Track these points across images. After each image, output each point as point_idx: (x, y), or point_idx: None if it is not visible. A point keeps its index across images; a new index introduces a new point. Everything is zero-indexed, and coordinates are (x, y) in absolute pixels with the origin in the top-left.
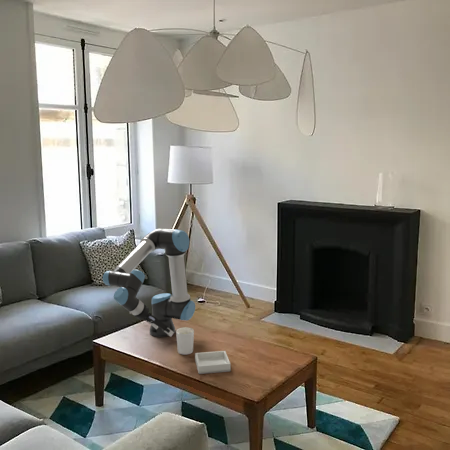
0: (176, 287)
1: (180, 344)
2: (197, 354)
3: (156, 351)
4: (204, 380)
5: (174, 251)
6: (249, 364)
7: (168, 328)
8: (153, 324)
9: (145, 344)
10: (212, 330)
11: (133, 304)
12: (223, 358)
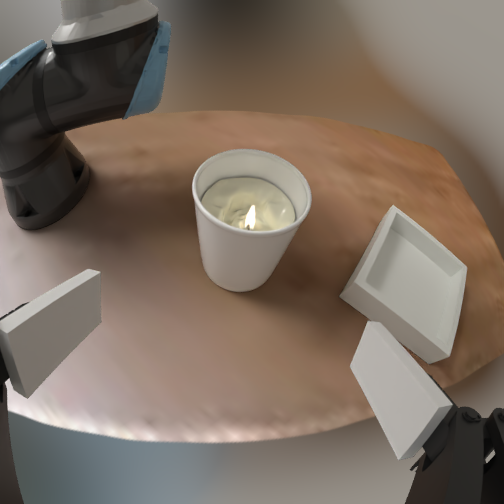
0: None
1: (255, 270)
2: (363, 281)
3: (122, 339)
4: (460, 374)
5: None
6: (435, 220)
7: (422, 377)
8: (61, 341)
9: None
10: (190, 114)
11: None
12: (394, 232)
